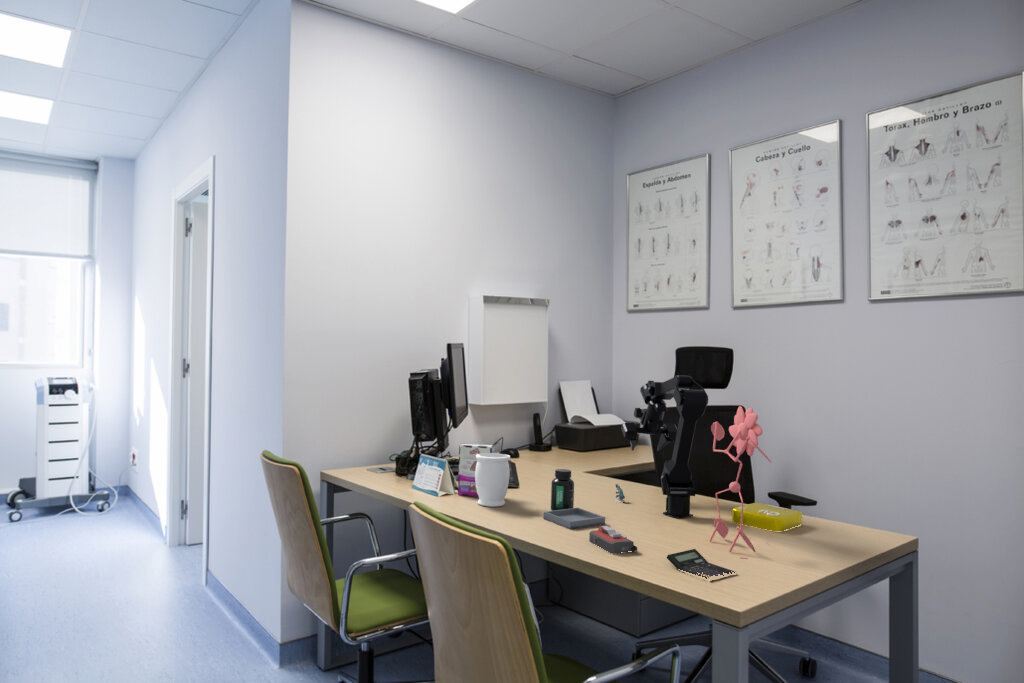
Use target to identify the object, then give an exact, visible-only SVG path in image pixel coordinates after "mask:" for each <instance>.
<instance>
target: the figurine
mask: <svg viewBox="0 0 1024 683" xmlns="http://www.w3.org/2000/svg"><path fill="white" fill-rule="evenodd" d="M733 417H734V418H733V420H734V421H733V425H730V426H729V427H728V432H729V435H730V436H731V437H732V438H733V439H732V441H731V442H730V444H729V445H728V446H727V448H726V449H724V450H723V449H716V443H717V441H721V440H722V439H724V437H725V434H726V433H725V429H724V427H723V426H722V424H720V423H719V421H715V422H713V423H712V424H711V425H710V431H711V433H712V435H713V445H712V452H714V453H715V452H716V453H724V454H725V455H728V456H729V457H730V459H732V461H734V463H737V462H738V463H739V467H738V471H737V476H736V479H735V481H732V482H730V483H729V485H728V486H729V487H728V488H726V489H724V490H721V491H717V492H715V501H716V506H717V507H716V508H717V513H718V517H717V518H715V519H714V522H713V526H714V530H713V532H712V533H711V536H710V538H709V540H708V541H709V542H712V541H713V538H715V537H714V536H715V535H716V533H718V534H719V536H721V538H723V539H725V538H726V537H727V535H728V534H729V527H728V525H727V523H726V522H725V520H723V519H722V518H721V514H720V513H721V512H720V511H721V510H720V504H719V500H718V498H719V497H718V495H719V494H722V493H724V492H727V491H731V492H732V493H738V494H739V497H740V501H741V506H742V508H741V524H740V527H739V526H736V530H737V533H736V534H735V535H736V536H735V538H734V539H733V541H732V543H731V546H730V548H729V550H728V552H730V553H732V551H733V549H734V547H735V545H736V542H737V541H738V539H739V537H740V536H741V538H742V540H743V541H744V543H746V545H747V546H748V547H749V548H750V549H751V550H752V551H753V553H755V552H756V549H755V547H754V544H752V542H751V539H749V538H748V537H749V536H747V534H746V533H745V532H744V531H743V525H742V518H743V505H744V501H743V500H744V499H743V496H742V493H741V484H740V483H739V477H740V476H741V475H740V473H741V470H742V468H743V465H744V464H743V463H742V461H741V460H740V459H739V458H740V456H741V455H742V454H743V453H744V452H745V451H746V454H747V455H748V456H749V457H752V456H753V455H754V452H755V449H757V450H758V451H759V453H761V454H762V456H763V457H764V458H765V459H766V460H768V462H769V463H772V461H771V459H770V458H769V457H768V456H767V455H766V454H765V453H764V451H763V450H762V449H761V448H760V447H759V440H758V437H760V436H761V435H763V429H762V427H761V426H760V425H759V424H758V423H757V421H758V419H759V417H758V414H757V413H756V412H754V410H753V407H750V408H747V409H746V411H745V410H744V408H743V406H738V408H737V410H736V413H735V415H734V416H733ZM732 446H734V447H735V448H736V453H737V455H736V456H734V455H733V454H732V453H730V449H731V448H732ZM730 535H731V536H733V534H732V533H731V534H730ZM756 553H757V552H756ZM741 559H745V560H747V559H748V557H741Z"/></svg>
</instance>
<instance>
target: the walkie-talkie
mask: <svg viewBox="0 0 1024 683" xmlns="http://www.w3.org/2000/svg"><path fill="white" fill-rule="evenodd" d="M588 539H589V540H588V541H589V543H591V544H592V545H594V544H595V545H594V546H596V545H597V547H598V546H599V547H598V548H600V547H601V548H600V549H602V548H603V549H604V550H603V549H602V550H603V551H605V550H606V551H605V552H607V551H608V552H607V553H609V552H610V553H620V554H622V553H621V552H628V551H633V552H637V551H638V546H636V545H635V544H634V541H633V540H631V539H629V538H627V535H626V534H623V533H621V532H620V531H616V529H614V528H613V527H610V526H609V525H599V526H598V529H596V530H591V531H589V538H588ZM610 553H609V554H610Z"/></svg>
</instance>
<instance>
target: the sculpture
mask: <svg viewBox="0 0 1024 683" xmlns="http://www.w3.org/2000/svg"><path fill="white" fill-rule="evenodd" d="M615 488H616V490H617V491H615V494H616V496H615V499H616V500H618V501H621V502H625V503H626V500H624V499H625V498H626V496H625V494H624V490H623V489H622V487H621V486H620V485H619V484H618V483H616V484H615ZM615 499H614V500H615Z"/></svg>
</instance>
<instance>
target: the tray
mask: <svg viewBox="0 0 1024 683" xmlns="http://www.w3.org/2000/svg"><path fill="white" fill-rule="evenodd" d="M542 518H543V520H545V521H548V522H550V523H553V524H556V525H558V526H561V527H563V528H566V529H568V530H575V529H581V528H582V527H583V528H588V527H589V526H590V527H596V526H601V525H600V524H603V525H606V516H604V515H600V514H597V513H594V512H592V511H589V510H587V509H586V510H585V509H582V508H580V507H573V508H570V509H562V510H554V511H552V510H548V511H546V510H545V511H543V517H542ZM595 525H596V526H595ZM590 527H589V528H590Z"/></svg>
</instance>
